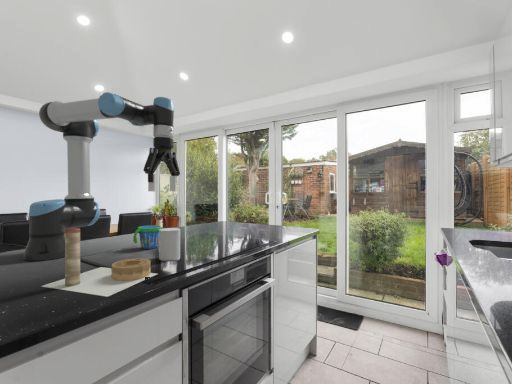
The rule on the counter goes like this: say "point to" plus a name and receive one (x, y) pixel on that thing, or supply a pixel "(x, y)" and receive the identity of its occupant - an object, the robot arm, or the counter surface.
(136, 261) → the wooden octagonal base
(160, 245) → the grey rounded block
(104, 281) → the mat
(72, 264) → the beige cylinder
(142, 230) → the snack cup
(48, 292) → the counter surface
